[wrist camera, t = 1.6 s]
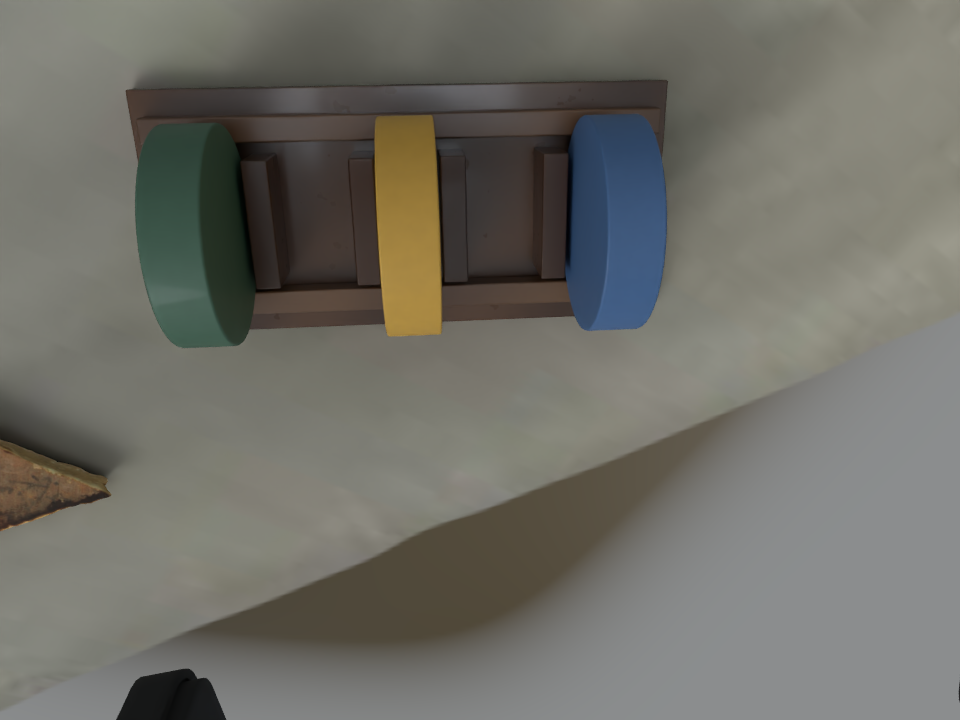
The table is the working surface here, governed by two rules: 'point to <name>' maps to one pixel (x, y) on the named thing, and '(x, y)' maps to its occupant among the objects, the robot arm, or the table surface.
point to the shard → (41, 486)
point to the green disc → (195, 235)
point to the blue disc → (614, 221)
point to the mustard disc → (408, 224)
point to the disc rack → (352, 192)
